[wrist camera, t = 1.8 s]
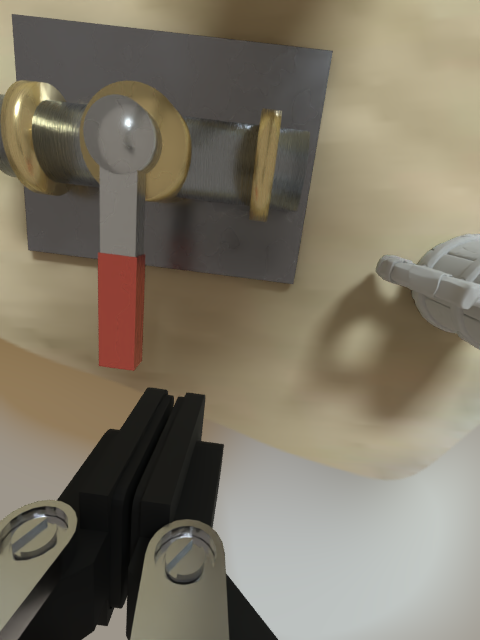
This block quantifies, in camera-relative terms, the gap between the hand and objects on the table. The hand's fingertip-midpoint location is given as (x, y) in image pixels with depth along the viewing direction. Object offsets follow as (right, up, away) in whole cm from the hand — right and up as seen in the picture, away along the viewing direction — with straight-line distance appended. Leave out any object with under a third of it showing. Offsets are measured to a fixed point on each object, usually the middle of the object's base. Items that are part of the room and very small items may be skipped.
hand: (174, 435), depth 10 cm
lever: (-5, +8, +10) cm, 14 cm away
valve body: (-4, +16, +16) cm, 23 cm away
